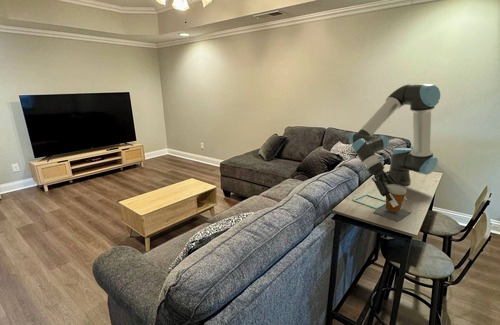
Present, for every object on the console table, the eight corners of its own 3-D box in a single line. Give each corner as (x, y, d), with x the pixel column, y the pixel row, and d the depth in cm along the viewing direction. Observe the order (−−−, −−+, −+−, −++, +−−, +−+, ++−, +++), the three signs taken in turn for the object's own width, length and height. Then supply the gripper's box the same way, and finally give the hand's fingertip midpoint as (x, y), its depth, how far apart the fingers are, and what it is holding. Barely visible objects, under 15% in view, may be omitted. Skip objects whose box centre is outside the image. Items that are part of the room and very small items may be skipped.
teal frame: (365, 194, 158) (365, 193, 158) (389, 202, 147) (390, 201, 147) (351, 200, 149) (352, 199, 149) (376, 209, 138) (376, 208, 138)
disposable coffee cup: (407, 212, 131) (412, 189, 128) (392, 214, 128) (396, 191, 125) (392, 204, 140) (396, 183, 136) (377, 206, 137) (381, 184, 134)
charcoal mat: (387, 205, 143) (387, 204, 143) (410, 213, 134) (411, 212, 134) (372, 212, 135) (373, 211, 134) (397, 221, 125) (397, 220, 125)
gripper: (378, 165, 147) (403, 201, 139) (356, 172, 134) (383, 212, 127) (389, 158, 142) (416, 195, 134) (368, 165, 129) (396, 206, 121)
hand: (400, 203), depth 130 cm, fingers closed on disposable coffee cup, 9 cm apart
